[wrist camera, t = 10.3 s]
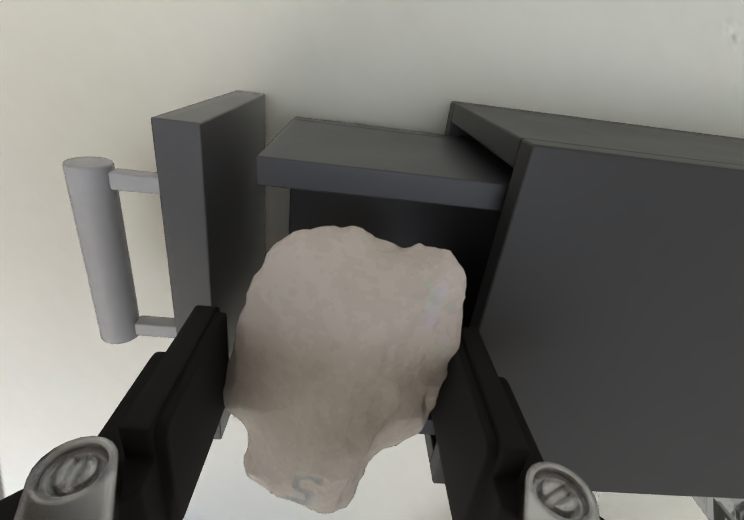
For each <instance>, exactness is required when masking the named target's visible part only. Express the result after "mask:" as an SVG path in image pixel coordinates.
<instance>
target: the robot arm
mask: <svg viewBox="0 0 744 520" xmlns="http://www.w3.org/2000/svg"><path fill="white" fill-rule="evenodd" d="M228 361H229V350H228V329H227V315H226V313H222V312H220V309H219V307H215V306H203V305H197V306H195V308H194V309H193V311H192V312H191V314H190V315H189V317H188V318H187V320H186V322H185V323H184V325H183V326H182V328H181V329H180V331H179V333H178V334H177V336H176V337H175V339H174V340H173V342H172V343H171V345H170V347H169V348H168V350H167V351H166V352H156V353H154V355H153V356H152V357H151V358H150V360H149V361H148V363H147V364H146V366H145V367H144V368H143V370H142V371H141V373H140V374H139V376H138V377H137V379H136V380H135V382H134V383H133V385H132V386H131V388H130V389H129V391H128V392H127V394H126V395H125V397H124V398H123V399H122V401H121V402H120V404H119V405H118V407H117V408H116V410H115V411H114V413H113V414H112V416H111V417H110V419H109V420H108V422H107V423H106V425H105V426H104V428H103V429H102V430H101V432H100V433H99V435H98V436H89V437H80V438H77V439H74V440H71V441H68V442H66V443H64V444H62V445H60V446H58V447H56V448H54V449H53V450H51V451H50V452H49V453H47V454H46V455H45V456H43V457H42V458H41V459H40V460H39V461H38V462H37V464H36V465H35V466H34V467H33V468H32V470H31V472H30V474H29V476H28V477H27V479H26V483H25V486H24V489H22V490H20V491H18V492H16V493H14V494H12V495H10V496H8V497H6V498H4V499H2V500H0V520H182V519H183V518H184V516H185V513H186V511H187V508H188V505H189V503H190V500H191V497H192V495H193V492H194V489H195V487H196V484H197V481H198V478H199V476H200V473H201V470H202V468H203V465H204V462H205V460H206V457H207V454H208V452H209V449H210V446H211V444H212V441H213V438H214V436H215V433H216V430H217V428H218V425H219V422H220V420H221V417H222V414H223V412H224V409H225V405H224V397H223V389H224V386H225V382H226V372H227V365H228ZM447 371H448V374H447V377H446V379H445V380H444V382H443V383H442V385H441V387H440V390H439V394H438V397H437V399H436V402H437V403H436V405H435V407H434V408H433V409H432V410H431V415H432V420H433V425H434V430H435V435H436V440H437V445H438V450H439V455H440V460H441V465H442V470H443V475H444V480H445V485H446V490H447V495H448V500H449V505H450V510H451V515H452V520H604V519H603V518H602V517H600V516H599V511H598V505H597V502H596V499H595V496H594V494H593V493H592V491H591V489H590V488H589V486H588V485H587V484H586V483H585V482H584V481H583V480H582V478H581V477H580V476H578V475H577V474H576V473H574V472H573V471H572V470H570V469H568V468H566V467H564V466H562V465H560V464H557V463H553V462H549V461H546V462H544V460H543V458H542V456H541V453H540V451H539V449H538V447H537V445H536V442H535V440H534V438H533V436H532V434H531V431H530V429H529V427H528V425H527V423H526V420H525V418H524V416H523V414H522V412H521V409H520V407H519V405H518V403H517V400H516V398H515V396H514V394H513V392H512V389H511V387H510V385H509V383H508V381H507V380H506V379H505V378H504V377H498V374H497V372H496V370H495V367H494V365H493V363H492V360H491V358H490V356H489V353H488V351H487V349H486V346H485V344H484V342H483V339H482V337H481V335H480V332H479V331H478V329H477V328H468V327H461V338H460V346H459V349H458V350H457V352H456V353H455V354H454V356H453V357H452V358H451V359H450V361H449V362H448V366H447Z"/></svg>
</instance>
